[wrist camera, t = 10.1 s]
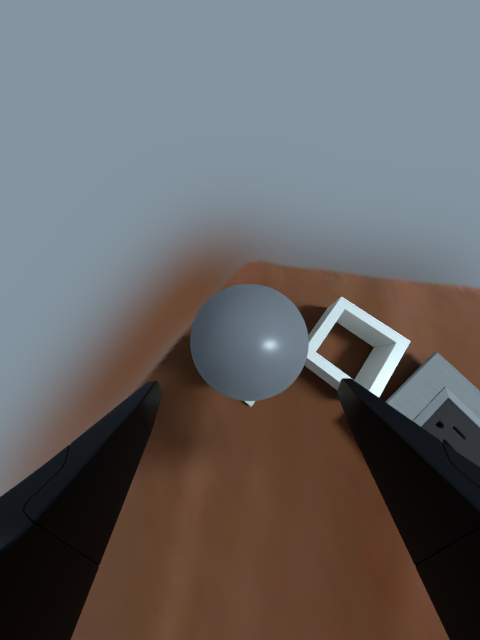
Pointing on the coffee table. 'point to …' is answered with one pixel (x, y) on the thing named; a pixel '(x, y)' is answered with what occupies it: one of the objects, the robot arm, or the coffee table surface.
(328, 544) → the coffee table surface
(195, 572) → the coffee table surface
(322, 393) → the coffee table surface
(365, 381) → the frame
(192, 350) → the grey tapered rounded cylinder
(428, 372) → the electrical outlet
